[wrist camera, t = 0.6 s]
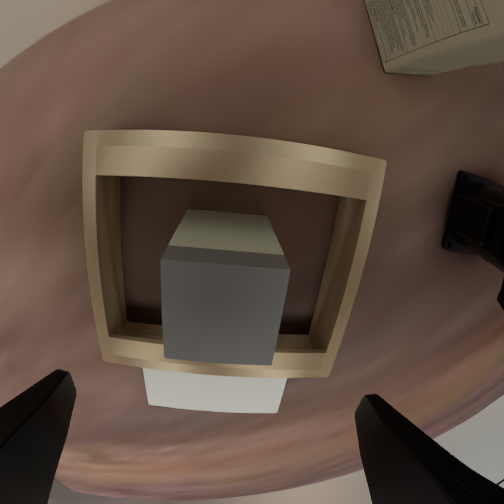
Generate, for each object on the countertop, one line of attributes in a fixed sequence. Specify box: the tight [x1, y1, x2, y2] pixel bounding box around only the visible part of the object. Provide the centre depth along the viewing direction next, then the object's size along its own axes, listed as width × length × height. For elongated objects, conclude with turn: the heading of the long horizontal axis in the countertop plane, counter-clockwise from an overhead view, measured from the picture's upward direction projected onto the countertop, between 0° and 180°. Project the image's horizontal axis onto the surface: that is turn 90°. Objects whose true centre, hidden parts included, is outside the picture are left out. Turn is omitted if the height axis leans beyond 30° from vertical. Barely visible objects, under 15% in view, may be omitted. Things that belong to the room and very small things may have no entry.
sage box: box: [161, 209, 291, 366], centre depth 16 cm, size 5×5×8 cm
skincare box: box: [365, 0, 504, 75], centre depth 9 cm, size 6×4×12 cm
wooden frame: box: [82, 130, 387, 378], centre depth 18 cm, size 16×15×4 cm
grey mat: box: [143, 368, 287, 413], centre depth 24 cm, size 12×6×1 cm, turn 83°
